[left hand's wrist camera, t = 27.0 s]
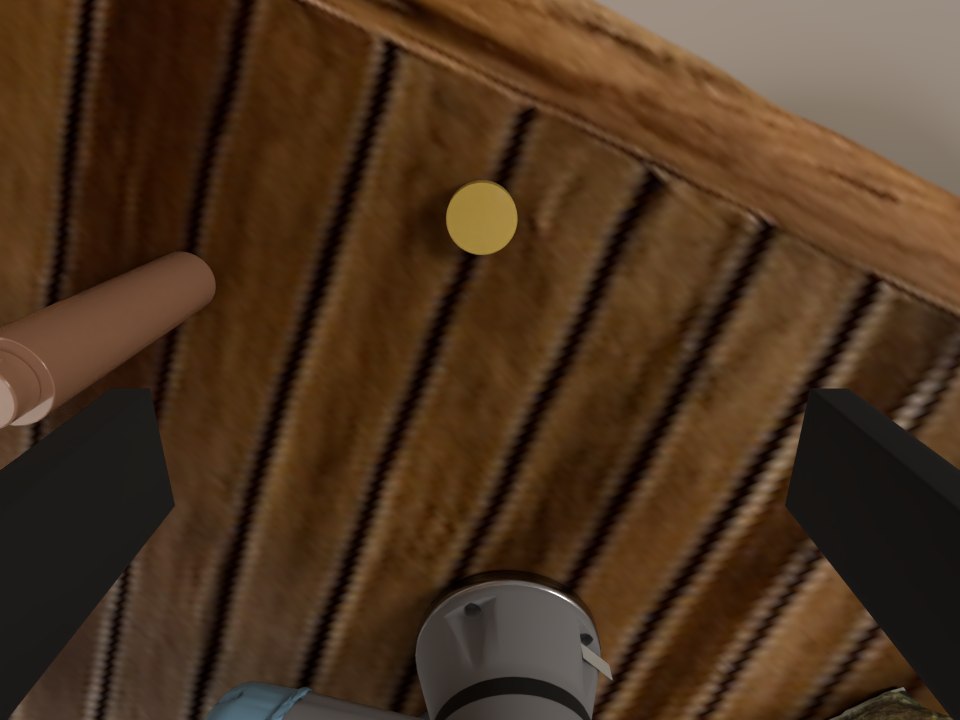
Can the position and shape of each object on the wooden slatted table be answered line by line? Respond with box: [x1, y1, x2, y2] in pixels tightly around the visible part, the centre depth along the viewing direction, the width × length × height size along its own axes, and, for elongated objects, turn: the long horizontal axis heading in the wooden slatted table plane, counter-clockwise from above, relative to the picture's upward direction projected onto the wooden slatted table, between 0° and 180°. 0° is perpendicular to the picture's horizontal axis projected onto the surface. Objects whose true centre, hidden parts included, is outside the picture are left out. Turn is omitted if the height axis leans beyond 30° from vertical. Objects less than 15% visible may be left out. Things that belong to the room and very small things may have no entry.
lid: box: [446, 180, 517, 255], centre depth 39 cm, size 4×4×2 cm
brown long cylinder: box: [0, 252, 216, 429], centre depth 33 cm, size 4×4×18 cm
